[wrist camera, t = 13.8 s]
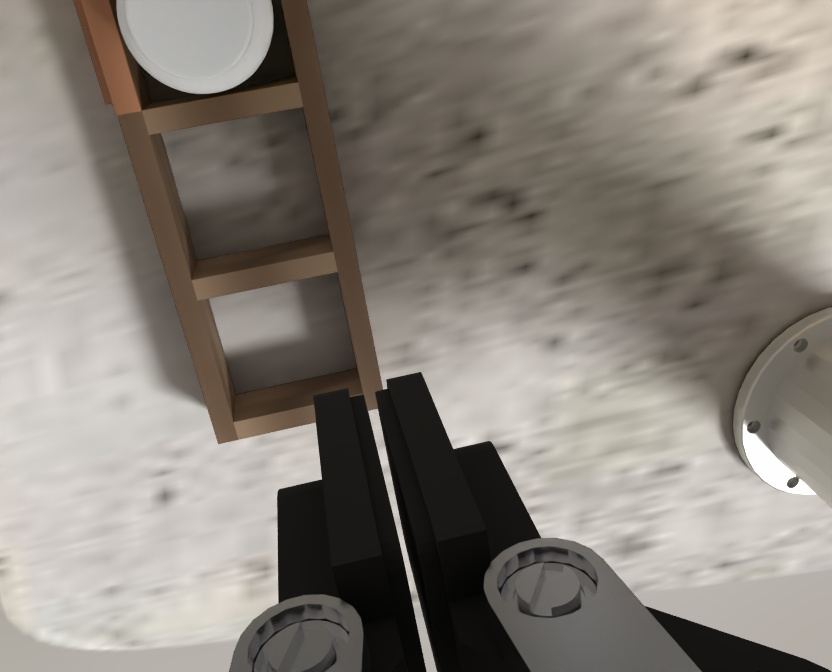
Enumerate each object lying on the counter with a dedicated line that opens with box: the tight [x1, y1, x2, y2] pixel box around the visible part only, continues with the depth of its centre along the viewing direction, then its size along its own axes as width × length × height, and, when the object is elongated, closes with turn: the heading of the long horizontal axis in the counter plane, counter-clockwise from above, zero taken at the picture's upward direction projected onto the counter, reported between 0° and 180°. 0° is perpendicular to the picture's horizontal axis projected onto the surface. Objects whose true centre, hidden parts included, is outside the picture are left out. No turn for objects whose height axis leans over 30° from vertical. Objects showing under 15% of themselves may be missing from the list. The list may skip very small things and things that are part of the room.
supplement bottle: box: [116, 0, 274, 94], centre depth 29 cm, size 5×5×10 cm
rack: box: [73, 0, 383, 444], centre depth 35 cm, size 9×24×3 cm, turn 9°
